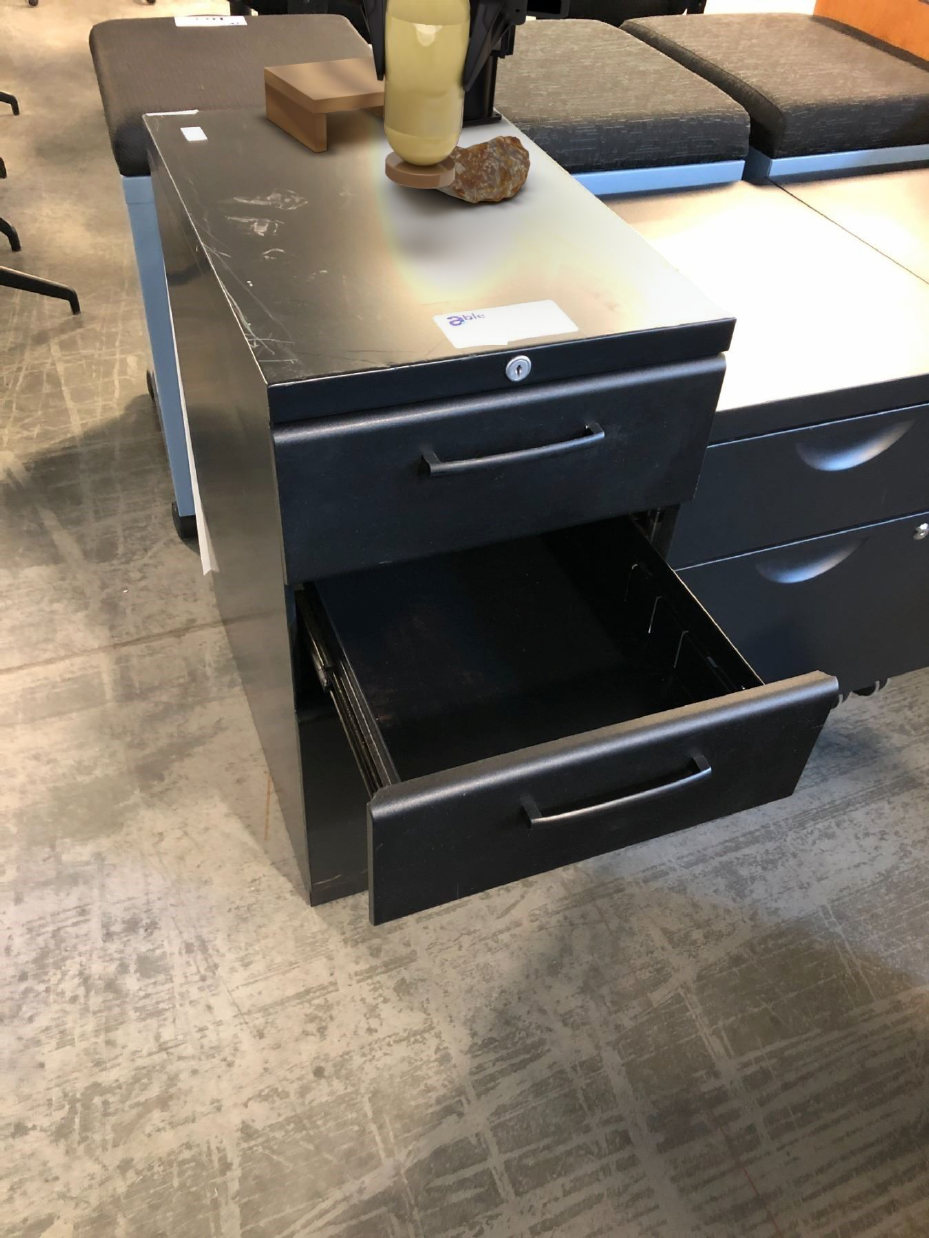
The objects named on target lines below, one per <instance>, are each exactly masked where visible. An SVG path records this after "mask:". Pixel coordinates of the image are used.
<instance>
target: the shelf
mask: <svg viewBox="0 0 929 1238" xmlns="http://www.w3.org/2000/svg"><path fill="white" fill-rule="evenodd" d="M263 77H264V79H263V80H264V96H265V99H264V100H265V115H266V116H265V117H266V119H268V120H269V121H270V122H272V123H273V124H274V125H276V126H277V127H279V128H280V129H281V130H283V131H284V132H286V133H287V134H289V135H290V136H291V137H292V138H294V139H295V140H297V141H299V142H300V143H301V144H303V145H304V146H306V147H307V148H309V149H310V150H311V151H313V152H314V153H321V152H327V151H328V148H327V146H328V145H327V143H328V142H327V140H328V139H327V138H328V137H327V113H334V112H335V113H336V112H341V111H350V110H357V109H366V110H368V111H370V112H371V113H373V114H374V115H376V116H378V117H379V118H381V119H383V115H384V79H383V81H378V80H377V75H376V69H375V63H374V57H373V56H366V57H364V56H363V57H355V58H354V57H353V58H344V59H333V60H325V61H323V60H322V61H315V62H305V63H294V64H285V65H274V66H263Z"/></svg>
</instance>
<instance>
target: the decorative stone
mask: <svg viewBox="0 0 929 1238" xmlns="http://www.w3.org/2000/svg"><path fill="white" fill-rule="evenodd" d="M449 156H450V157H451V158H453V159H454V161H455V162H456V176H455V180H454V181H453V182H452V183H451V184H449V185H447V186H444V187H439V188H435V189H436V190H437V191H439V192H442V193H444V194H446V195H447V196H450V197H454V198H458V199H460V200H463V201H466V202H469V203H472V204H477V203H479V202H495V203H496V202H500V201H501V200H502V199H504V198H505V199H509V198H513V197H514V196H515V194H516V193H518V191H519V189H520V187H521V186H522V185H524V183H526V182H527V179H528V176H529V171H530V167H531V161H530V151H529V150H528V149H526V148H525V146H524V145H523V144H522V142H521V140H520V138H518V137H517V136H512V135H505V136H502V135H498V136H496V137H494V138H492V139H489V140H488V141H484V142H480V143H476V144H473V145H471V146H468V147H463V146H462V147H461V146H458V145H456V147H455V149H454V150H453V152H452V153H451V154H450V155H449Z"/></svg>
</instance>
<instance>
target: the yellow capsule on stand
mask: <svg viewBox="0 0 929 1238" xmlns="http://www.w3.org/2000/svg"><path fill="white" fill-rule="evenodd" d="M469 27H470V5H469V0H387V4H386V25H385V70H384V115H383V118H382V119H383V120H382V121H383V131H384V135H385V138H386V141H387V143H388V145H389V147H390V149H391V150H392V151H391V152H389V153H388V154H387V155H386V156H385V159H384V174H385V176H386V177H387V179H389V180H390V181H392V182H394V183H396V184H397V185H401V186H404V187H408V188H414V189H427V190H428V189H436V188H439V187H444V186H447V185H449V184H451V183H452V182H453V181H454V180H455V176H456V162H455V161H454V159H453V158H451V157H450V156H449V155H450V154H451V153H452V152H453V150H454V149H455V147H456V146H458V142H459V141H460V138H461V136H462V135H461V134H462V128H463V126H462V119H463V106H464V93H465V91H463V76H464V67H465V59H466V55H467V51H468V40H469Z"/></svg>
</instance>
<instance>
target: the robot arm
mask: <svg viewBox="0 0 929 1238" xmlns="http://www.w3.org/2000/svg"><path fill="white" fill-rule="evenodd" d="M345 1H346V2H347V3H348V4H349V5H350V6H354V7H359V8H360V10H361V13H362V16H363V19H364V22H365V24H366V28H367V31H368V34H369V39H370V44H371V51H372V57H374V63H375V69H376V75H377V80H378V81H383V79H384V70H385V25H386V4H387V0H345ZM570 4H571V0H469V5H470V27H469V40H468V51H467V55H466V59H465V67H464V76H463V91H465V93H464V106H463V119H462V127H466V126H472V125H479V124H487V123H493V122H500V121H502V120H503V114H501V113H499V112H498V111H496V110H495V109H494V105H495V94H496V87H497V86H496V83H497V74H498V65H499V64H498V63H499V60H501V59H502V60H505V59H506V57H509V56H513V55H514V49H515V40H516V31H517V26H522V25H524V24H525V23H526V21H527V17H532V18H540V19H548V20H557V21H560V20H562V19H564V18H567V17H568V16H569V12H570Z"/></svg>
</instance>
